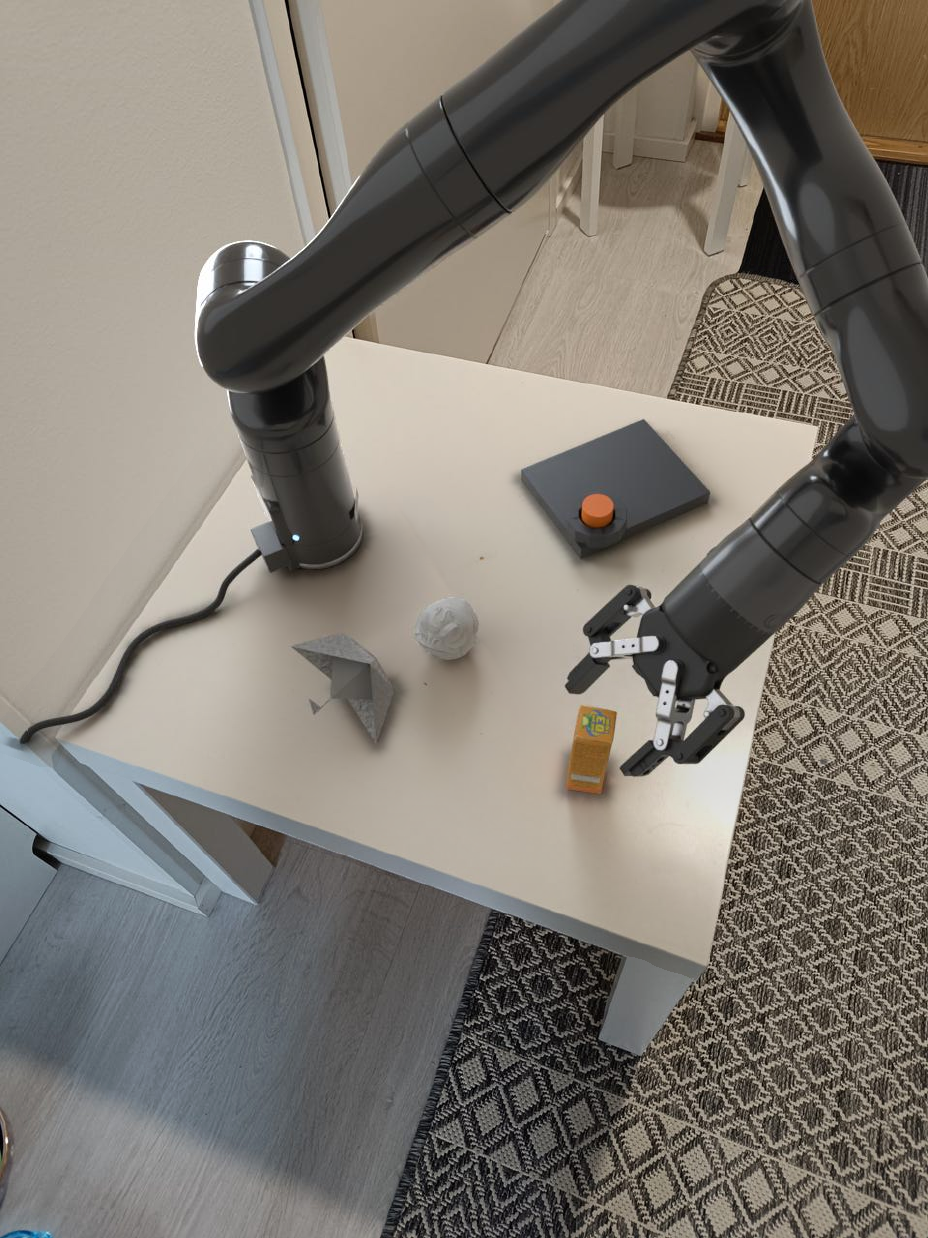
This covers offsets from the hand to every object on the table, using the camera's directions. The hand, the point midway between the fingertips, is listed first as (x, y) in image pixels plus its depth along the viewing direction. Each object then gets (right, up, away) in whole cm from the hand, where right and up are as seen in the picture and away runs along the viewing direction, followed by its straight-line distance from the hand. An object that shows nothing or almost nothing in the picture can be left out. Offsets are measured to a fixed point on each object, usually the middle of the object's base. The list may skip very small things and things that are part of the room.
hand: (598, 730), depth 74 cm
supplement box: (0, -5, +7) cm, 8 cm away
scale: (+5, +23, +26) cm, 35 cm away
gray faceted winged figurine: (-22, +2, +13) cm, 26 cm away
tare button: (+3, +20, +20) cm, 28 cm away
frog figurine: (-12, +6, +15) cm, 21 cm away
